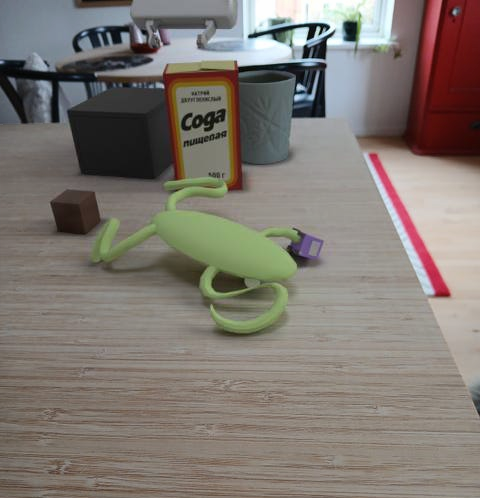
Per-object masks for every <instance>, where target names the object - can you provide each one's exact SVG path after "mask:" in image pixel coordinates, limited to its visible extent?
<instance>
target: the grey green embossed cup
mask: <svg viewBox="0 0 480 498" xmlns="http://www.w3.org/2000/svg"><path fill="white" fill-rule="evenodd" d="M296 79H297V77H296V74H295V73H291V72H288V71H282V70H281V71H280V70H265V69H264V70H250V71H243V72H239V101H240V130H241V159H242V162H243V163H246V164H252V165H269V164H270V165H271V164H275V163H276V164H277V163H279V162H282V161H284V160H286V159H287V158H288V156H289V152H290V137H291V129H292V119H293V117H292V116H293V103H294V97H295V87H296Z"/></svg>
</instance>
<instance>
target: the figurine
mask: <svg viewBox="0 0 480 498" xmlns="http://www.w3.org/2000/svg"><path fill="white" fill-rule="evenodd" d="M199 186H211V187H216V188H217V189H213V188H205V187H199ZM182 188H184V189H182ZM176 189H182V190H179V191H177V192H176ZM163 190H164V191H166V192H167V191H175V192H172V193H171V194H170V195H169V196H168V197H167V199H166V201H165V206H164V210H161V211H159V212H157V213H156V214H155V215H153V216H152V218H151V220H150V224H149V225H146V226H144V227H142V228H140V230H139V229H138V230H137V231H136V232H135V233H134V234H133V233H132V235H129V237H127V238H124V239H122V240H121V241H120V242H118V243H117V244H115V245H114V246H113V247H112V244H113V242H114V239H115V236H116V234H117V232H118V230H119V227H120V225H121V223H120V220H118V218H116V217H110V218H109V219H108V220H107V221H106V223H105V224H104V226H103V227H102V228H101V230H100V231H99V233H98V234H97V236H96V238H95V240H94V243H93V245H92V249H91V254H90V260H91V261H92V262H93V263H100V262H101V261H103V262H105V263H109V264H110V263H111V262H113V261H114V260H117V259H119V257H121V256H122V255H124V254H125V253H126V252H128V251H130V250H131V249H133V248H135V247H137V246H138V245H140V244H142V243H143V242H145V241H146V240H148V239H149V238H151V237H152V236H155V235H157V236H158V237H159V238H160V239H162V240H163V242H165V243H166V244H167V245H168V246H169V247H171V248H172V249H174V250H176V251H177V252H179V253H180V254H182V255H184V256H185V257H186V258H189V259H190V260H192V261H194V262H196V263H199V264H201V265H204V266H206V268H205V269H204V271H203V273H202V274H201V275H200V278H199V290H200V291H201V293H202V295H203V296H204V297H206V298H209V299H212V300H218V299H220V300H222V299H226V298H231V297H235V296H238V295H241V294H243V293H246V292H249V291H252V290H256V289H259V288H267V287H268V288H270V289H272V290H273V291H274V293H275V298H274V301H273V303H272V305H271V306H270V308H268V310H267V311H265V312H264V313H263V314H261V315H259V316H257V317H255V318H253V319H248V320H245V321H239V320H238V321H237V320H233V319H229V318H226V317H224V316H222V315H220V314H219V313H217V312H216V310H215V307H214V306H213V304H212V303H211V304H210V310H209V311H210V313H209V315H210V317H211V318H212V320H213V322H214V323H215V325H216V326H217V327H219V328H221V329H222V330H225V331H227V332H231V333H235V334H253V333H256V332H259V331H261V330H263V329H265V328H267V327H269V326H270V325H272V324H274V322H275V323H276V322H277V320H279V318H280V317H281V315H282V314H283V312H284V310H286V307H287V304H288V301H289V299H290V298H289V293H288V289H287V288H286V287H285V286H283V285H282V284H280V283H279V281H287V280H289V279H291V278H293V277H294V276H296V275H297V269H298V264H297V263H296V261H295V260H294V259H293V257H292V256H291V255H290V253H289V252H292V254H294V255H295V256H296V255H297V256H299V257H305V258H308V259H311V260H314V261H317V260H318V258H319V255H320V253H321V250H322V247H323V246H324V242H325V240H324V239H321V238H319V237H316V236H313V235H311V234H308V233H306V232H303V231H302V230H300V229H298V228H297V227H296V228H295V227H292V228H289V227H288V228H287V227H275V226H274V227H273V226H272V227H269V228H265V229H263V230H260V231H258V232H257V231H256V230H254V229H252V228H250V227H248V226H245V225H243V224H240V223H237V222H235V221H232V220H230V219H227V218H225V217H221V216H218V215H213V214H209V213H205V212H202V211H193V210H186V209H176V207H177V203H179V202H181V201H183V200H186V199H189V198H194V197H195V198H196V197H197V198H201V197H202V198H208V199H222V198H224V197H225V196H226V195H227V193H228V191H229V190H228V188H227V186H226V183H225V182H224V181H222V180H220V179H218V178H214V177H202V178H194V179H185V180H178V181H175V180H171V181H170V180H169V181H168V180H167V181H166V182H164V184H163ZM270 238H285V239H289V240H290V244H287V247H286V249H287V250H285V249H284V248H283V247H281V246H280V245H279V244H277V242H275V241H274V240H272V239H270ZM111 247H112V248H111ZM288 251H289V252H288ZM219 272H222V273H225V274H228V275H232V276H234V277H239V278H241V279H244V285H245V286H246V287H247V288H243V289H239V290H235V291H229V292H218V291H216V290H214V288H213V287H212V281H213V279H214V278H215V277H216V275H217V274H218V273H219ZM261 282H266V283H262V284H261Z"/></svg>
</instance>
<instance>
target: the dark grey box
mask: <svg viewBox="0 0 480 498" xmlns="http://www.w3.org/2000/svg"><path fill="white" fill-rule="evenodd" d="M66 114H67V119H68V123H69V127H70V132H71V136H72V140H73V145H74V149H75V155H76V158H77V163H78V167H79V171H80V175H81V174H82V175H93V176H109V177H121V178H135V179H149V180H155V179H157V177H158V176H160V175H161V174H162V173H163V171H165V170H166V169H167V168H169V166H171V164H173V159H172V150H171V142H170V133H169V124H168V116H167V107H166V98H165V90H164V87H163V88H162V87H129V86H128V87H127V86H126V87H124V86H123V87H122V86H111V87H109V88H107V89H105V90H103V91H102V92H99V93H97V94H96V95H93V96H92V97H89V98H88V99H86V100H84V101H82V102H80V103H78V104H76V105H75V106H72V107H71V108H68V109H66Z"/></svg>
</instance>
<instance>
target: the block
mask: <svg viewBox="0 0 480 498" xmlns="http://www.w3.org/2000/svg"><path fill="white" fill-rule="evenodd" d="M49 204H50V208H51V212H52V215H53V219H54V222H55V226H56V230H57V232H61V233H69V234H70V233H71V234H80V235H81V234H82V235H87V234H88V233H89V232H90V231H91V230H92V229H94V227H96V226H97V225H98V224H99V223H100V222H101V214H100V209H99V205H98V200H97V195H96V192H95V190H94V191H92V190H80V189H70V188H69V189H68V188H66V189H65V190H64V191H62V192H61V193H60V194H59V195H57V196H56V197H54V198H52V200H50V201H49Z"/></svg>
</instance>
